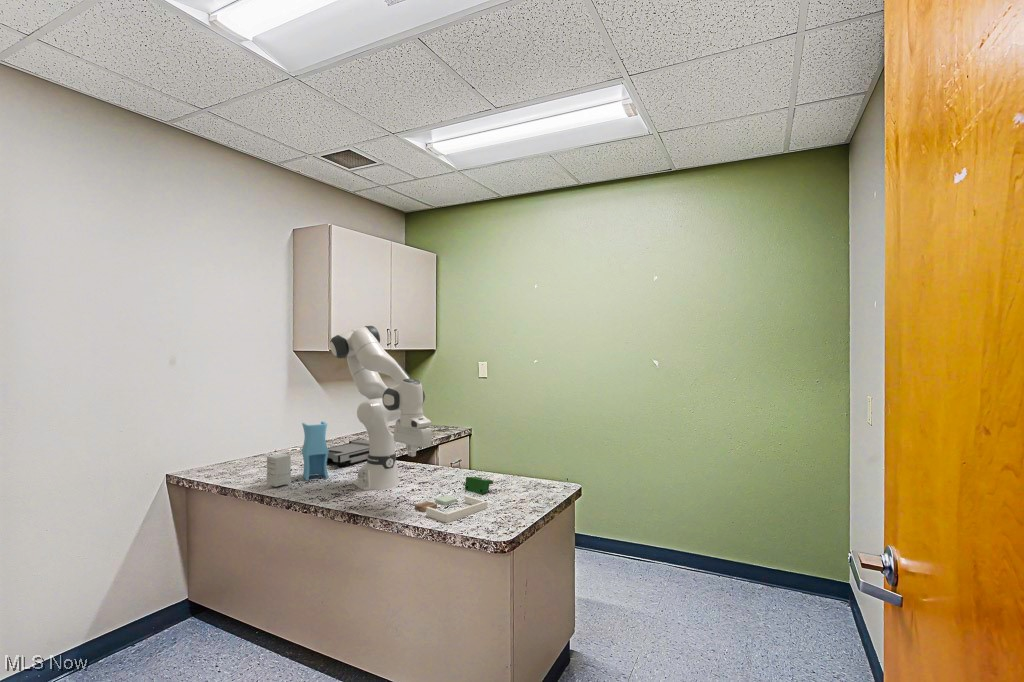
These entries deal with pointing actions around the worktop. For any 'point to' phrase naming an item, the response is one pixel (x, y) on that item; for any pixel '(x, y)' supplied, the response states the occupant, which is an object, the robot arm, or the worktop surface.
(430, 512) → the white u-shaped frame
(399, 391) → the robot arm
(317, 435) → the blue toy chair
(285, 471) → the supplement box
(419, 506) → the walnut tile
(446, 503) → the sage tile
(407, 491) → the worktop surface
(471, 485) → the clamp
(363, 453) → the game console
